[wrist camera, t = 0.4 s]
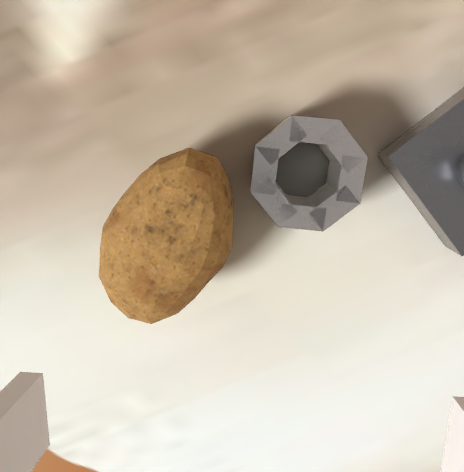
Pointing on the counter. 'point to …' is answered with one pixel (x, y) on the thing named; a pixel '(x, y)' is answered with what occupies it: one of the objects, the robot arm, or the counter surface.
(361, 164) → the hub
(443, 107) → the pillow block
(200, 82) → the counter surface
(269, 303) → the counter surface
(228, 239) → the potato
